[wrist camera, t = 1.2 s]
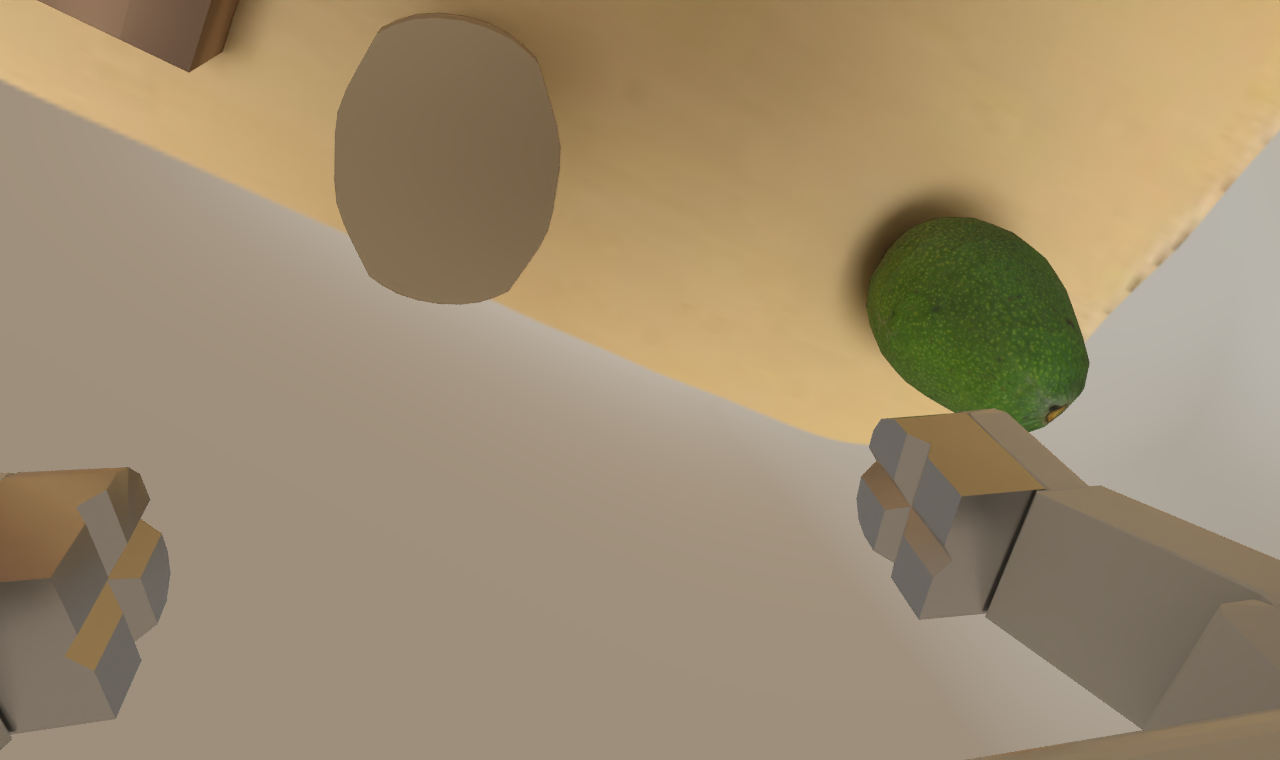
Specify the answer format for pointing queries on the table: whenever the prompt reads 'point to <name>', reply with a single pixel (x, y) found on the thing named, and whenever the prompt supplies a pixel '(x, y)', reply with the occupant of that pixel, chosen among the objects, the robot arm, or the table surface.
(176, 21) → the socket board
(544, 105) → the handle
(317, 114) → the table surface
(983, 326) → the fruit
